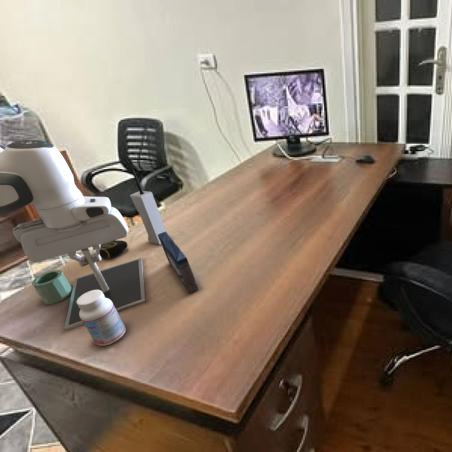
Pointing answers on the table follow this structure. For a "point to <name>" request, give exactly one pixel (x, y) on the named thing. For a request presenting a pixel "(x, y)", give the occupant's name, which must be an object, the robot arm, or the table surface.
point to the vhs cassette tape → (178, 262)
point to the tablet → (110, 289)
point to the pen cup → (52, 286)
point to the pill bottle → (100, 318)
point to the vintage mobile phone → (148, 212)
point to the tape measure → (112, 248)
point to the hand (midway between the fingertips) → (91, 262)
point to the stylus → (95, 269)
